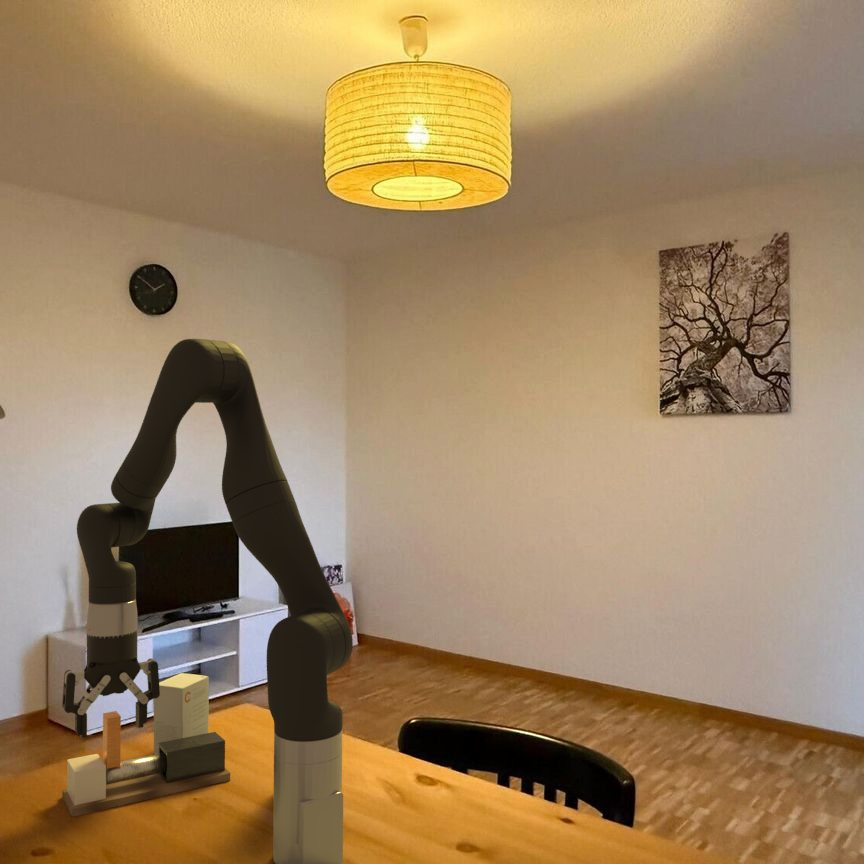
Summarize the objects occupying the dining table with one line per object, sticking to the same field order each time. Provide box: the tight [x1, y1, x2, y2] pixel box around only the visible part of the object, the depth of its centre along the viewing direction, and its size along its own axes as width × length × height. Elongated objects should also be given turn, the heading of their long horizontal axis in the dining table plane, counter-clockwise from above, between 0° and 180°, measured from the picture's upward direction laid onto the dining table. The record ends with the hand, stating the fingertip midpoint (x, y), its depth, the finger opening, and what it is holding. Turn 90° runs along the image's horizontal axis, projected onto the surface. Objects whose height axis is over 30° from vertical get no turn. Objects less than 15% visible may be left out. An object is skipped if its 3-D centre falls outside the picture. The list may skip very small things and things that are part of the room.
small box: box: [153, 672, 210, 755], centre depth 150 cm, size 8×6×13 cm
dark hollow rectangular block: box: [158, 731, 226, 783], centre depth 138 cm, size 10×5×5 cm, turn 124°
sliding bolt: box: [102, 710, 166, 785], centre depth 132 cm, size 14×3×11 cm, turn 124°
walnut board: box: [61, 767, 231, 818], centre depth 134 cm, size 24×8×1 cm, turn 124°
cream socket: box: [66, 753, 106, 806], centre depth 129 cm, size 4×6×5 cm
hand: (111, 731), depth 131 cm, fingers open, 8 cm apart
